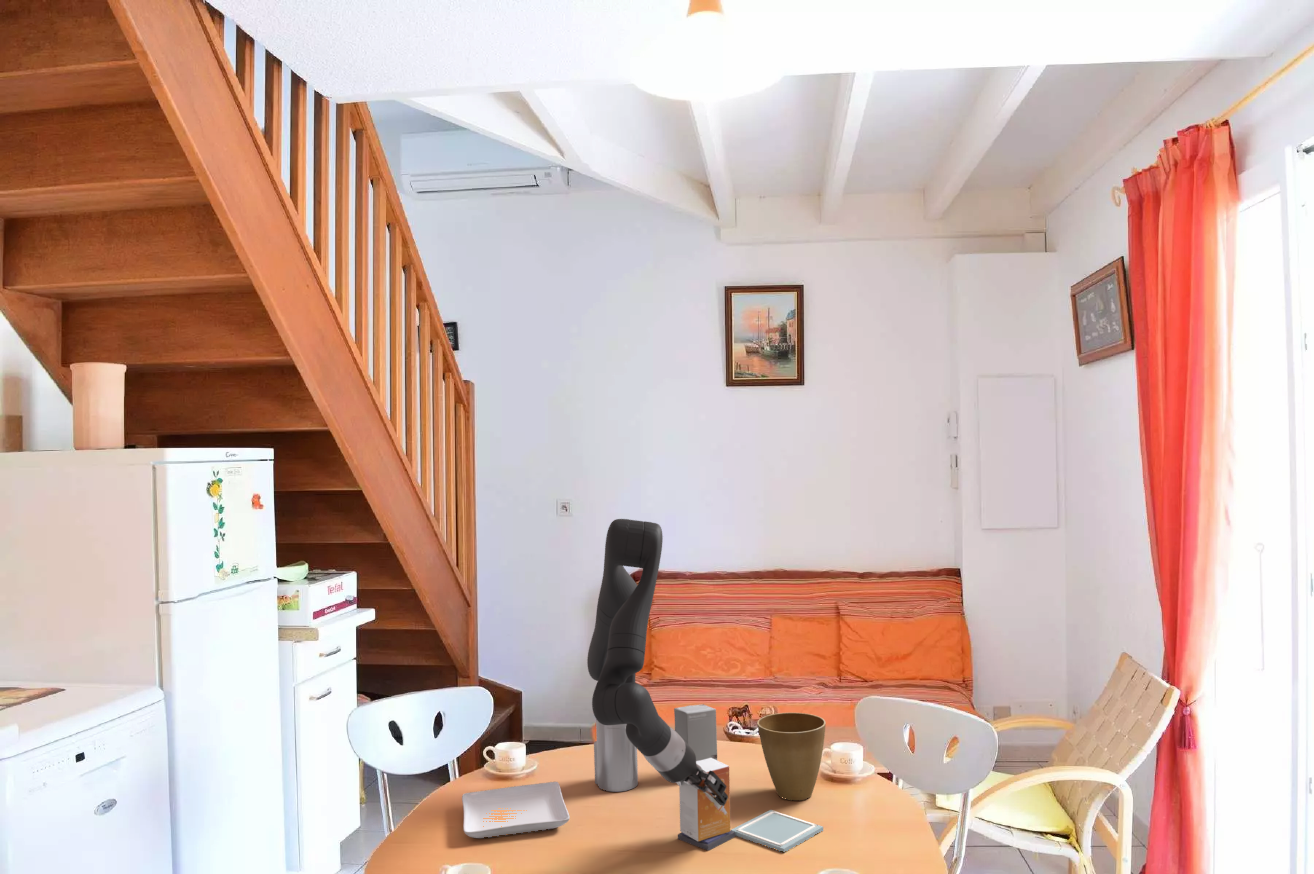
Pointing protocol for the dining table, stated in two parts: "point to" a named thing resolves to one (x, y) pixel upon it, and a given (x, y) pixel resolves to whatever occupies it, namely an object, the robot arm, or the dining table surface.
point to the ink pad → (707, 840)
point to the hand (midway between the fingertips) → (709, 796)
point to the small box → (705, 806)
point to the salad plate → (535, 798)
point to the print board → (777, 830)
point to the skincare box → (698, 729)
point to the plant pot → (792, 751)
